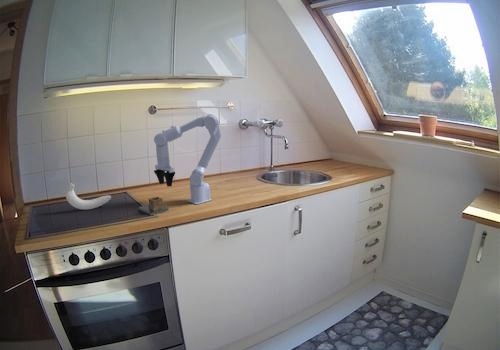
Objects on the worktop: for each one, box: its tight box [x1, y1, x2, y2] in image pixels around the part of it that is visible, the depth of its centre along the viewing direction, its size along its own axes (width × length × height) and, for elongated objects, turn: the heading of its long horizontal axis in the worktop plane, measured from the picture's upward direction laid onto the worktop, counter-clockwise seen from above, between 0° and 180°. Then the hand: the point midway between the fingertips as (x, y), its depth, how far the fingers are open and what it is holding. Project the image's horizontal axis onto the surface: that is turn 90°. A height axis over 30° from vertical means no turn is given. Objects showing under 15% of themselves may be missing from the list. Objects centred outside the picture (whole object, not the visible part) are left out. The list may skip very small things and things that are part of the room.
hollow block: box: [147, 196, 164, 211], centre depth 150 cm, size 5×5×5 cm
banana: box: [65, 182, 112, 211], centre depth 156 cm, size 5×19×15 cm, turn 123°
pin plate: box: [138, 199, 170, 216], centre depth 153 cm, size 9×12×4 cm
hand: (165, 184), depth 161 cm, fingers open, 7 cm apart
